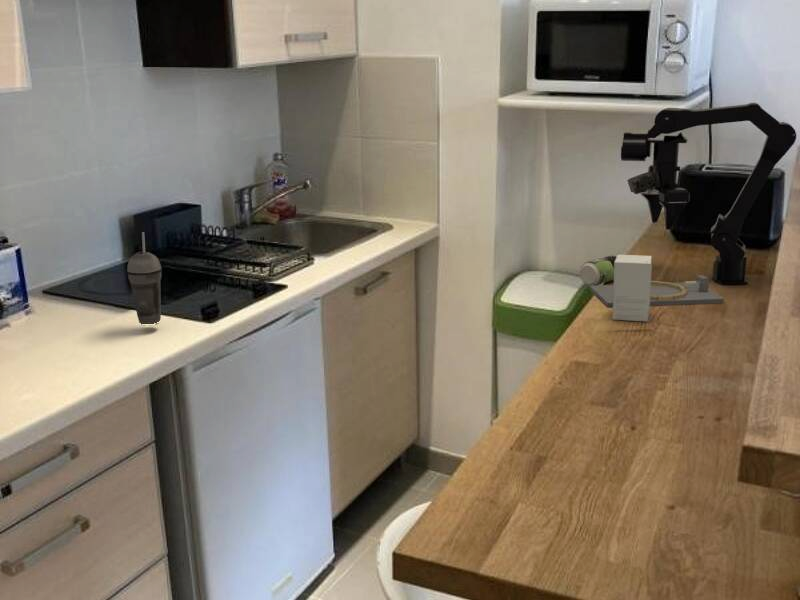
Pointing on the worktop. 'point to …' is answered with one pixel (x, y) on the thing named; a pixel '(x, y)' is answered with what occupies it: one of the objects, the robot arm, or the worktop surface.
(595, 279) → the beverage can
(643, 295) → the supplement box
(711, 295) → the base
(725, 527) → the worktop surface
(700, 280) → the tan curved band
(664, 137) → the robot arm
